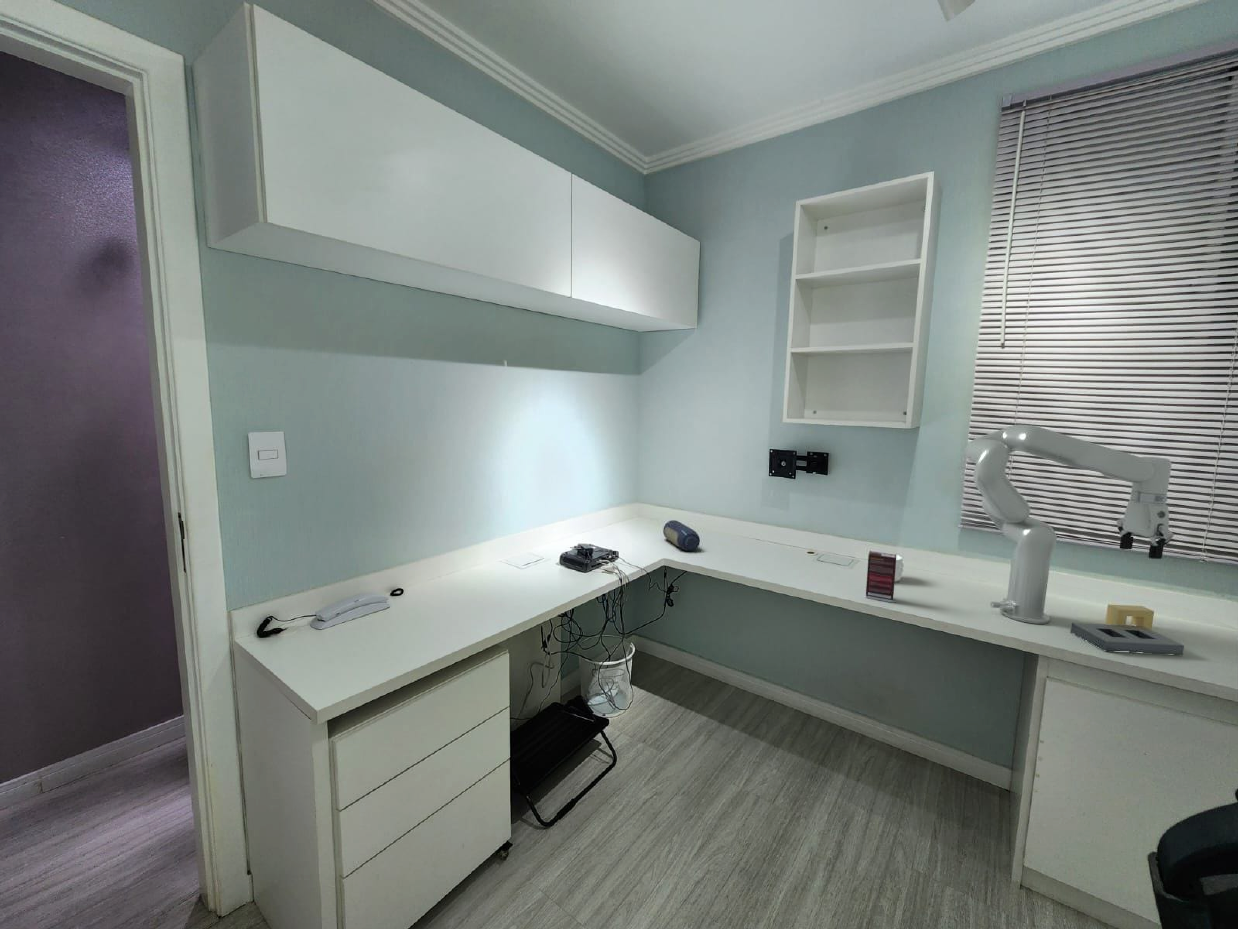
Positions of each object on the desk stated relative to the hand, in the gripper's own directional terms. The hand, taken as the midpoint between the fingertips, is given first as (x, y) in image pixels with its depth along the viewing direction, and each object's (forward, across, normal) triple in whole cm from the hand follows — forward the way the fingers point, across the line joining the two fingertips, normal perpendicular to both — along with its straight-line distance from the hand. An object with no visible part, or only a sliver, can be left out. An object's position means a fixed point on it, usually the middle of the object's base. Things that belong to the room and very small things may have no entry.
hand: (1139, 553), depth 157 cm
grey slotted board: (+23, -13, +12) cm, 29 cm away
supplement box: (+23, +14, +69) cm, 74 cm away
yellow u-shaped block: (+23, 0, 0) cm, 23 cm away
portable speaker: (+24, +69, +136) cm, 155 cm away
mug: (+24, +34, +58) cm, 71 cm away
